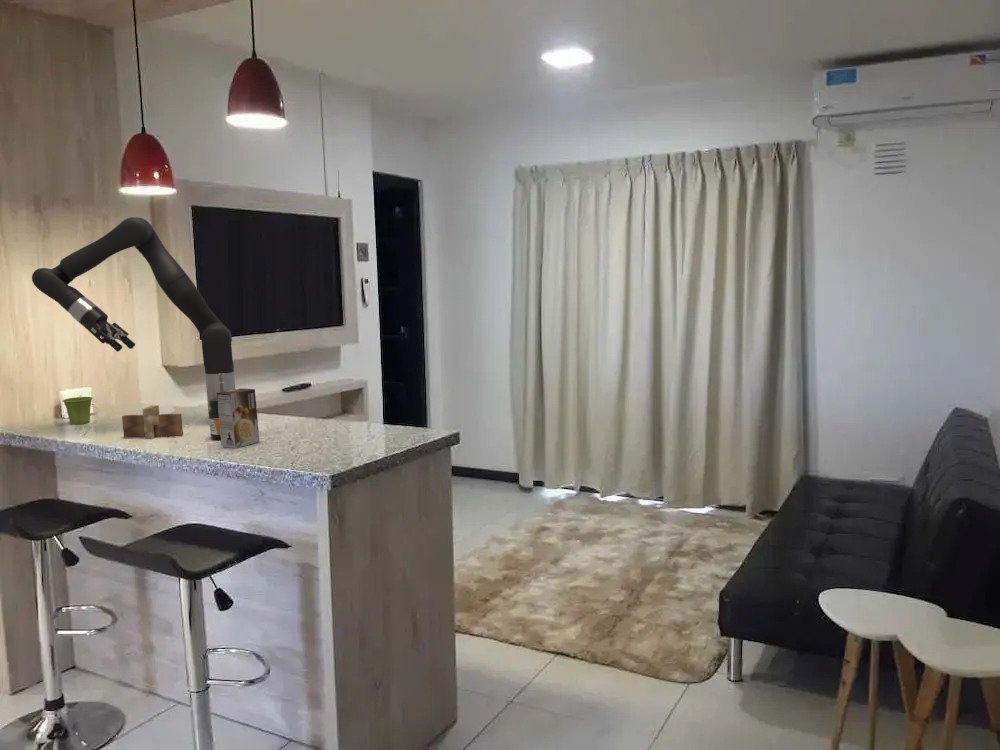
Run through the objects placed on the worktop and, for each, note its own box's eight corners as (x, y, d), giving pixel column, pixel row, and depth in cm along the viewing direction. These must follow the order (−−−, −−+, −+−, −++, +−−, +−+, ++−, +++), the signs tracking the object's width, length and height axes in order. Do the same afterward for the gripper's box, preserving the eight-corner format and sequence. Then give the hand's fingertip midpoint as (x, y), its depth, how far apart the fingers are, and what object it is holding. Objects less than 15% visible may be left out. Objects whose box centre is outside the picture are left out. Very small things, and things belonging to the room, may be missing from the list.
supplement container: (205, 441, 246) (202, 402, 244) (216, 434, 256) (213, 396, 255) (240, 440, 246) (237, 400, 245) (250, 433, 257) (247, 395, 255)
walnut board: (124, 438, 256) (121, 416, 255) (127, 436, 258) (125, 415, 257) (180, 436, 255) (178, 414, 254) (183, 435, 257) (181, 413, 256)
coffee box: (245, 440, 245) (241, 387, 243) (260, 442, 242) (256, 388, 240) (220, 446, 237) (215, 392, 235) (235, 448, 234) (230, 393, 232)
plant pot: (100, 421, 288) (98, 397, 287) (74, 426, 280) (72, 401, 279) (85, 419, 293) (82, 396, 292) (59, 424, 285) (56, 400, 284)
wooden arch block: (145, 438, 253) (142, 408, 252) (153, 435, 259) (151, 405, 258) (152, 438, 253) (149, 408, 252) (161, 434, 259) (158, 405, 258)
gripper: (83, 306, 255) (123, 341, 256) (106, 304, 269) (144, 337, 270) (68, 324, 256) (108, 359, 257) (92, 321, 270) (130, 354, 271)
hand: (127, 348), depth 263 cm, fingers open, 8 cm apart
